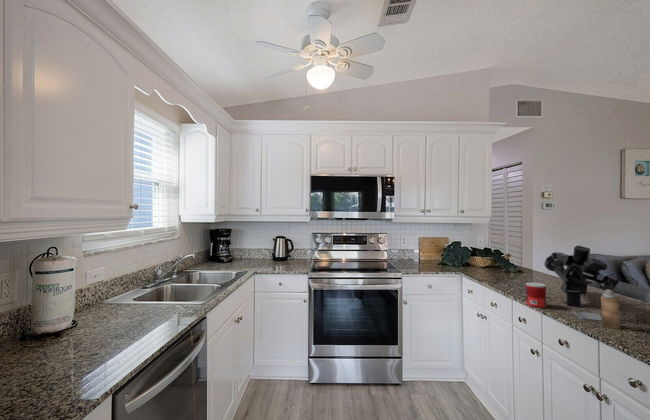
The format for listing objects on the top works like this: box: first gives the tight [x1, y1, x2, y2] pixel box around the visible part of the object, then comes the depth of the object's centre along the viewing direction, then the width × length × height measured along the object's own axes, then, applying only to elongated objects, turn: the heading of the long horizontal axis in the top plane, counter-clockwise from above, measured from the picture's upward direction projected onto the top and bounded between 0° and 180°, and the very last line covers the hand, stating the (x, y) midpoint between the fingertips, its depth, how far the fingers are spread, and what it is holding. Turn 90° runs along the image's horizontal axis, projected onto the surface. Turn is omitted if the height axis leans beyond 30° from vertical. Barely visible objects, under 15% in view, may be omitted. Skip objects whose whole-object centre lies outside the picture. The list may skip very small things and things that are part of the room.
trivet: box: [572, 310, 602, 323], centre depth 126 cm, size 9×9×1 cm
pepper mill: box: [600, 289, 620, 330], centre depth 117 cm, size 5×5×15 cm
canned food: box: [525, 281, 547, 309], centre depth 143 cm, size 8×8×11 cm
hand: (599, 287), depth 120 cm, fingers open, 9 cm apart
